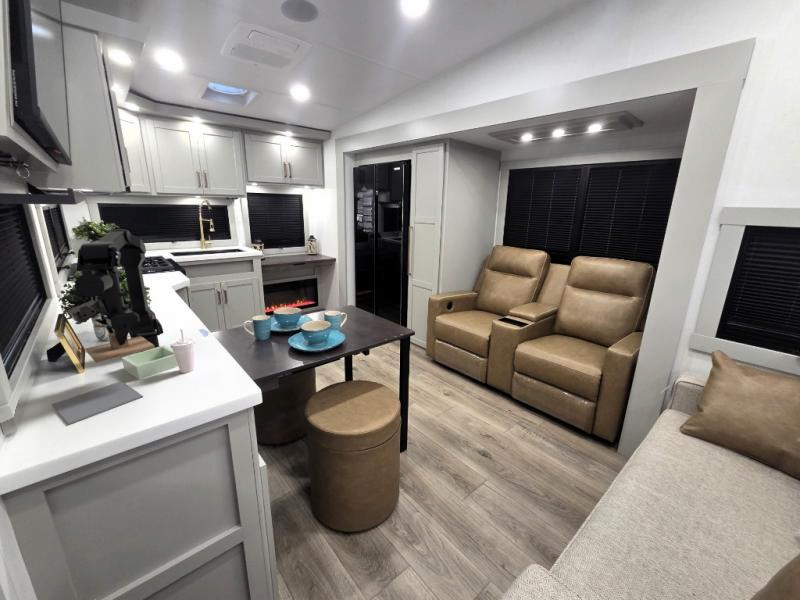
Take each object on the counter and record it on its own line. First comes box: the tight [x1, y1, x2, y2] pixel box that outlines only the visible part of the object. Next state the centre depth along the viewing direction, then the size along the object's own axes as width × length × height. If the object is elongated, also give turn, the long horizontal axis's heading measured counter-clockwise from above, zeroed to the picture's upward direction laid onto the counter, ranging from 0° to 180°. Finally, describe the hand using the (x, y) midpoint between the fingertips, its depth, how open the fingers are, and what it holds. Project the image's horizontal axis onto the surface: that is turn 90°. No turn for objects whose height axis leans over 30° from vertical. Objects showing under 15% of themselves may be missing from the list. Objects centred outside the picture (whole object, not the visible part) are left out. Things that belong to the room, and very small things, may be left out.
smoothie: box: [169, 328, 195, 374], centre depth 106 cm, size 6×6×14 cm
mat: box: [51, 380, 144, 426], centre depth 90 cm, size 15×15×1 cm
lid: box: [85, 333, 155, 364], centre depth 96 cm, size 13×13×5 cm
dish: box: [121, 345, 179, 380], centre depth 109 cm, size 12×12×4 cm
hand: (119, 343), depth 96 cm, fingers closed on lid, 4 cm apart
